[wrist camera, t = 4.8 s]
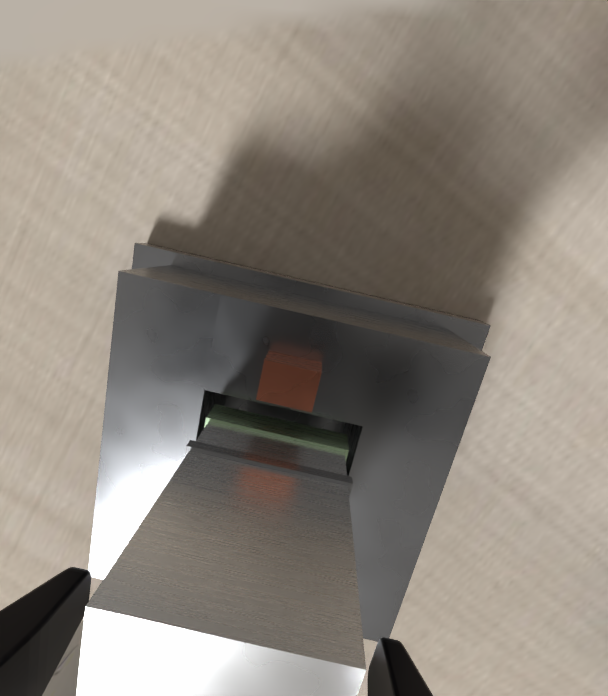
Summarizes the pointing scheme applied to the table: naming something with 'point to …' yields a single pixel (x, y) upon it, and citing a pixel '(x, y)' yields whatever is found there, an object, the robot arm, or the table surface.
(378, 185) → the table surface
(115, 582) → the column
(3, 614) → the robot arm
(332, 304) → the housing
